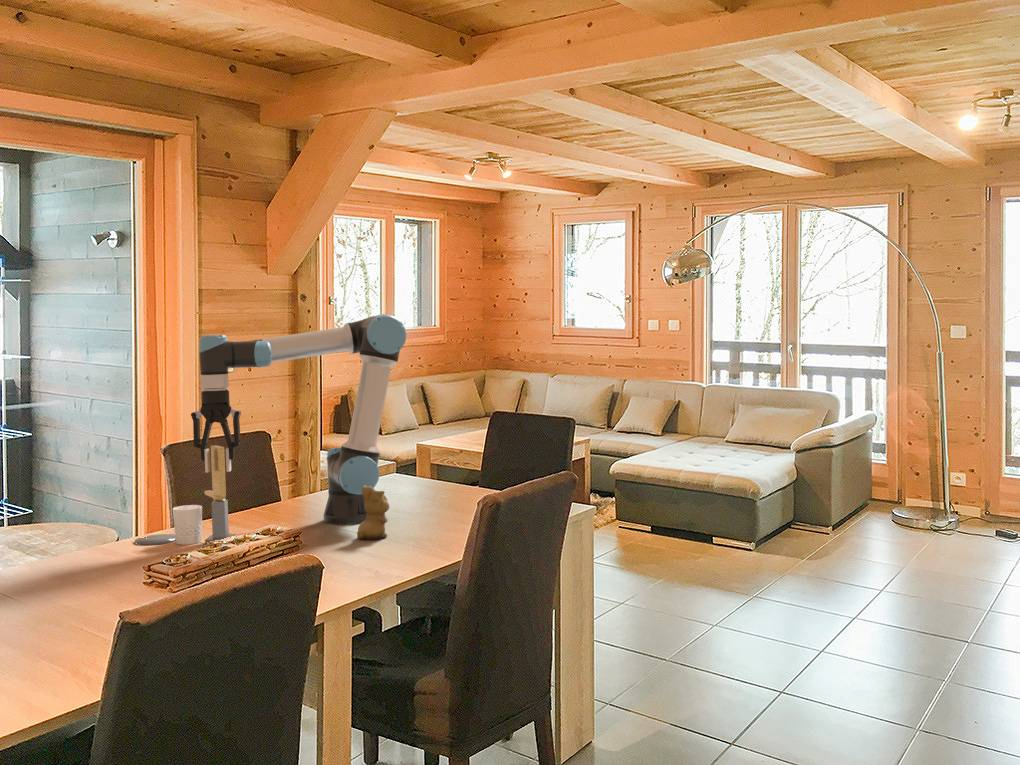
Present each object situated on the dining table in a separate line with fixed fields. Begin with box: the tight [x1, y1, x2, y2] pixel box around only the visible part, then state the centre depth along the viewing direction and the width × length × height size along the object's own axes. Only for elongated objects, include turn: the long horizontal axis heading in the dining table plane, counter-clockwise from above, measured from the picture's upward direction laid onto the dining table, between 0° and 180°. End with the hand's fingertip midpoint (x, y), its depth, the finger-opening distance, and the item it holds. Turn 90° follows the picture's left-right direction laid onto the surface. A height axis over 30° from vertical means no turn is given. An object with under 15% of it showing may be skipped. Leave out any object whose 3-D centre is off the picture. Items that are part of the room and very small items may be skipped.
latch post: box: [204, 499, 237, 544], centre depth 260 cm, size 7×7×12 cm
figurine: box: [356, 485, 390, 541], centre depth 259 cm, size 10×8×15 cm
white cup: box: [172, 504, 203, 546], centre depth 260 cm, size 8×8×10 cm
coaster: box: [134, 533, 176, 546], centre depth 263 cm, size 12×12×1 cm
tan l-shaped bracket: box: [204, 444, 227, 501], centre depth 263 cm, size 16×3×15 cm, turn 34°
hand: (218, 471), depth 260 cm, fingers open, 5 cm apart
